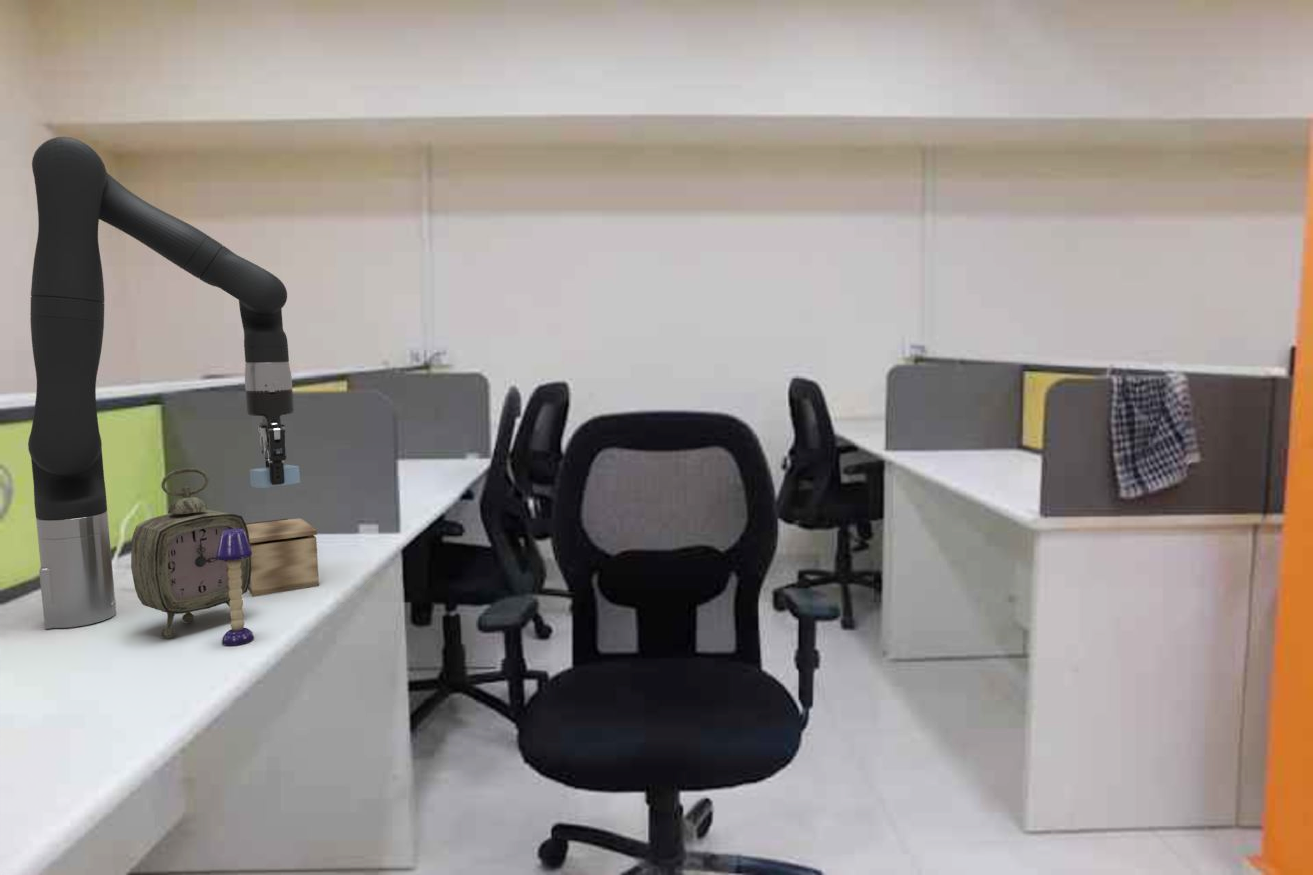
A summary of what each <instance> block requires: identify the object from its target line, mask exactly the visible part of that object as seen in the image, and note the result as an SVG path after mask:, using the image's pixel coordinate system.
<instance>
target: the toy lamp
mask: <svg viewBox="0 0 1313 875" xmlns="http://www.w3.org/2000/svg"><path fill="white" fill-rule="evenodd" d="M251 555H252V551H251V548H250V545H249V542H248V539H247V536H246V534H245V531H244V530H243V529H229V530H225V531H223V532H222V533H221V537H220V541H219V545H218V550H217V554H216V558H217V559H218V560H227V566H228V568H229V570H228V577H229V581H228V585H229V588H230V590H229V597H230V599H231V600H230V602H229V605H230V607H229V608H230V611H229V616H230V619H231V620H230V627H231V629H229V630H228V631H226V632H225V633H224V634H223V637H222V640H221V644H222V645H223V646H228V645H232V646H238V644H240V645H244V644H247V643H250V642H253V640H255V636H254V633H253V631H252V630H251V629H250V628H248V627H244V626H245V621H244V615H245V614H244V609H243V607H244V600H243V598H242V597H243V595H242V589H241V585H242V580H241V578H240V576H241V569H240V565H241V560H240V559H244V558H248V557H250V556H251ZM249 641H250V642H249ZM243 643H244V644H243Z"/></svg>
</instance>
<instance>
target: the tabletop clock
mask: <svg viewBox="0 0 1313 875" xmlns="http://www.w3.org/2000/svg"><path fill="white" fill-rule="evenodd" d="M184 473H197V474H200V475H201V476H203V478H204V480H205V481H204V483H203V484H202V485H201V486H199V487H196V488H194V489H191V487H190V486H189V485H184V486H182V488H181V489H182V490H181V491H172V490H169V489H167V488H166V483H167V481H168V480H169V479H171V477H173V476H175V475H179V474H184ZM209 480H210V479H209V476H208V474H207V472H205V471H204V470H202V469H200V468H197V467H185V468H178V469H173V470H172V471H170V472H169V473H167V474H166V475H165V476H164V477H163V478H162V481H161V485H160V486H161V489H162V491H163V492H164V493H165V494H167V495H169V496H174V497H179V498H177V499H175V500H174V501H173V502H172V503H171V505H169V507H168V512H167V513H166V514H163V515H158V516H155V517H152V518H149V519H146V520H144V521H141V522H140V523H138V524H137V525H136V526H135V528H134V531H133V534H132V536H131V537H132V538H131V545H130V547H131V548H130V550H131V551H130V553H131V554H130V558H131V559H130V568H131V574H132V579H133V586H134V589H135V592H136V593H135V594H136V596H137V599H138V600H139V601H140V604H142V606H144V607H147V608H150V609H151V608H152V609H153V610H157V611H161V612H163V613H166V615H167V619H166V627H164V628H163V629H162V630H161V636H162V638H165V639H169V638H172V637H173V636H174V635H175V629H174V628H173V627H172V625H173V621H174V619H175V618H174V617H175V615H183V616H182V618H181V619H182V621H183V622H184V623H185V624H190V623H192V622H193V620H194V619H195V616H194V614H193V612H198V611H202V610H207V609H211V608H214V607H217V606H220V605H223V604H226V605H227V606H228V608H230V605H229V602H230V600H231V599H230V597H229V590H230V588H229V585H228V581H229V577H228V570H229V568H228V566H227V560H218V559H217V558H216V554H217V550H218V545H219V541H220V537H221V533H222V532H223V531H225V530H229V529H243V530H244V531H245V534H246V536H247V539H248V542H249V545H250V540H249V534H248V530H247V526H246V521H245V520H244V518H243V516H242V515H239V514H233V513H229V512H223V511H217V510H212V509H207V505H206V504H205V502H204V501H203V500H202V499H201V498H199V497H196V496H192V495H195V494H198V493H200V492H201V491H203V490H204V489H205V488H206V487H207V486H208V484H209ZM250 548H251V547H250ZM240 560H241V565H240V569H241V576H240V578H241V580H242V585H241V589H242V596H243V595H244V594H245V593H248V591H249V589H248V587H249V584H250V578H251V556H250V557H248V558H244V559H240Z"/></svg>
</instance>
